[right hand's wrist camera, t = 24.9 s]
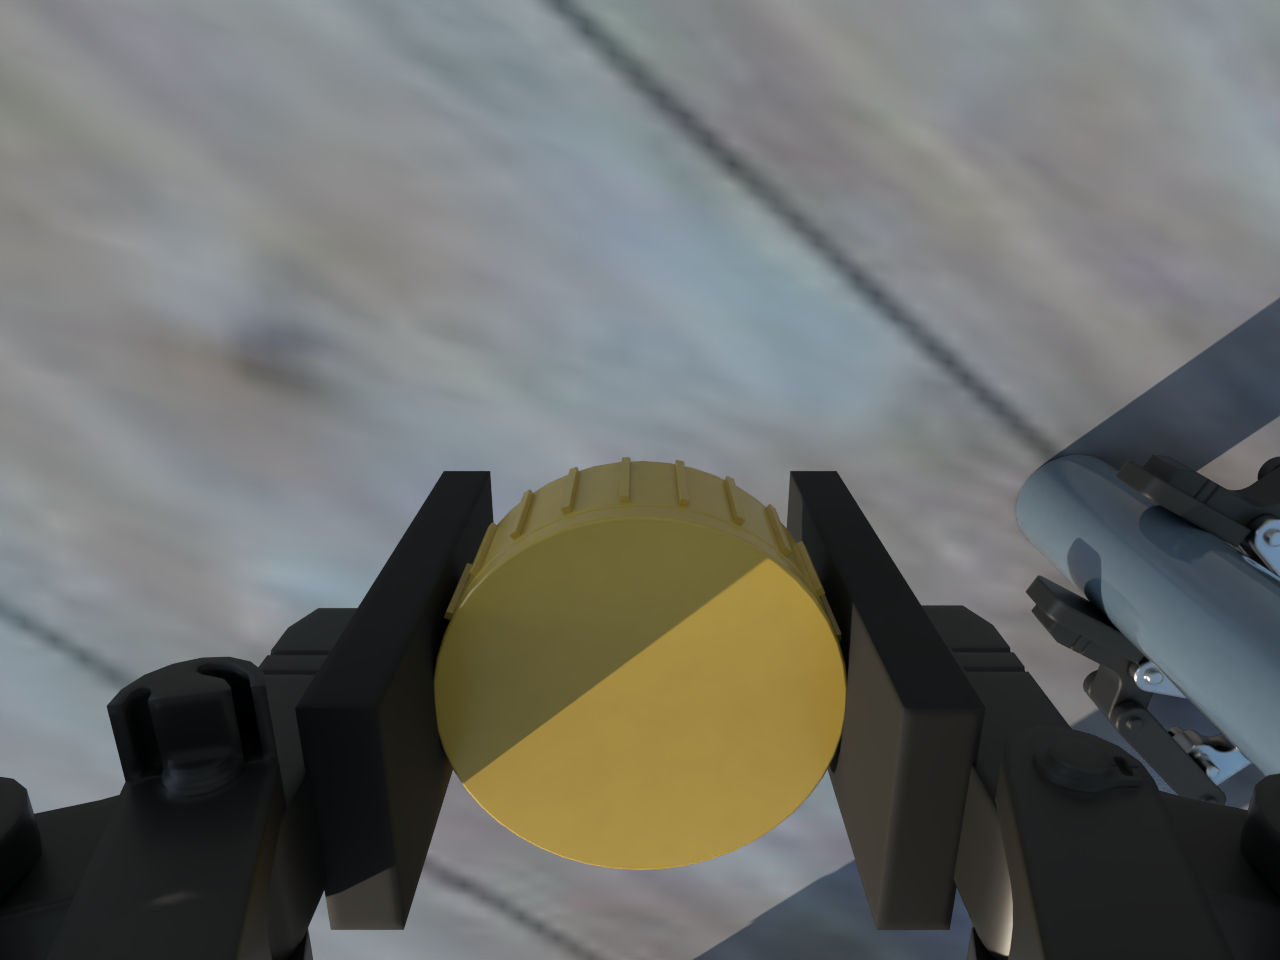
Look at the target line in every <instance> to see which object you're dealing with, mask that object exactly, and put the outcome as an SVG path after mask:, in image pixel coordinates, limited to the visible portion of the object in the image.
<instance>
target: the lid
mask: <svg viewBox="0 0 1280 960" xmlns="http://www.w3.org/2000/svg"><path fill="white" fill-rule="evenodd" d="M444 618H446V619H448V620H450V621H449V623H448V626H447V628H446V630H445V633H444V636H443V639H442V642H441V645H440V648H439V651H438V654H437V658H436V664H435V671H434V679H433V683H434V695H435V707H436V716H437V726H438V733H439V736H440V739H441V742H442V746H443V749H444V751H445V753H446V755H447V757H448V759H449V762H450V764H451V766H452V768H453V770H454V771H455V773H456V774H457V776H458V778H459V779H460V781H461V782H462V784H463V785H464V787H465V788H466V790H467V791H468V792H469V793H470V794H471V795H472V796H473V798H474V799H475V800H476V801H477V802H478V803H479V804H480V806H481V807H482V808H483V809H484V810H486V811H487V812H488V813H489V814H490V815H491V816H492V817H493V818H495V819H496V820H497V821H498V822H499V823H500V824H502V825H503V826H505V827H506V828H508V829H509V830H510V831H512V832H513V833H515V834H516V835H518V836H519V837H521V838H523V839H525V840H526V841H528V842H530V843H532V844H534V845H536V846H538V847H540V848H542V849H544V850H547V851H549V852H552V853H554V854H557V855H559V856H562V857H564V858H568V859H571V860H575V861H579V862H582V863H586V864H591V865H596V866H602V867H608V868H617V869H632V870H645V869H665V868H672V867H679V866H686V865H690V864H694V863H698V862H702V861H706V860H710V859H713V858H716V857H719V856H721V855H724V854H727V853H730V852H732V851H735V850H737V849H739V848H741V847H743V846H745V845H747V844H749V843H751V842H753V841H755V840H757V839H758V838H760V837H761V836H763V835H764V834H766V833H767V832H769V831H770V830H772V829H774V828H775V827H776V826H778V825H779V824H780V823H781V822H782V821H784V820H785V819H786V818H787V817H789V816H790V815H791V814H792V813H793V812H794V811H795V810H796V809H797V808H798V807H799V806H800V805H801V804H802V803H803V802H804V801H805V800H806V799H807V798H808V797H809V795H810V794H811V793H812V791H813V790H814V789H815V787H816V786H817V785H818V783H819V782H820V780H821V779H822V778H823V776H824V774H825V772H826V771H827V769H828V767H829V765H830V763H831V761H832V759H833V757H834V755H835V753H836V750H837V747H838V744H839V741H840V739H841V736H842V732H843V722H844V713H845V702H846V691H847V673H846V664H845V660H844V657H843V653H842V649H841V646H840V641H841V631H840V629H839V627H838V624H837V622H836V620H835V617H834V615H833V613H832V610H831V608H830V606H829V603H828V601H827V598H826V596H825V591H824V589H823V586H822V584H821V582H820V579H819V577H818V575H817V572H816V570H815V568H814V565H813V563H812V561H811V558H810V556H809V554H808V551H807V549H806V547H805V545H804V543H803V541H800V542H799V543H796V542H795V540H794V538H793V537H792V535H791V534H790V532H789V531H788V530H787V529H786V528H785V526H784V525H783V524H782V523H781V522H780V519H779V517H778V514H777V512H776V509H775V508H774V507H773V506H772V505H771V504H769V505H768V506H767V507H765V506H764V505H763V504H762V503H761V502H759V501H758V500H757V499H755V498H754V497H752V496H751V495H749V494H748V493H747V492H745V491H744V490H742V489H741V488H739V487H737V486H736V485H735V482H734V479H732V478H730V477H728V476H727V477H726V478H725V480H723V479H721V478H719V477H717V476H714V475H712V474H709V473H706V472H703V471H700V470H697V469H694V468H690V467H685V466H684V462H683V461H678V460H676V462H675V464H671V463H661V462H648V461H636V462H631V461H630V457H627V458H622V462H618V463H612V464H606V465H600V466H594V467H591V468H588V469H584V470H581V471H579V470H578V468H577V467H575V468H572V469H570V471H569V475H567V476H564V477H562V478H560V479H558V480H555V481H553V482H551V483H549V484H547V485H545V486H544V487H542V488H541V489H539V490H537V491H536V492H534V493H532V491H531V490H528V491H527V492H525V493H524V494H523V497H522V500H521V502H520V503H519V504H518V505H517V506H516V507H514V508H513V509H512V510H511V511H510V512H509V513H508V514H507V515H506V516H505V517H504V518H503V519H502V520H501V521H500V522H499V524H498V525H496V524H494V523H493V522H492V523H491V524H490V526H489V527H488V529H487V531H486V533H485V536H484V538H483V541H482V543H481V545H480V548H479V550H478V553H477V555H476V557H475V560H474V562H473V565H472V564H470V563H467V564H466V566H465V569H464V571H463V573H462V576H461V578H460V580H459V583H458V585H457V587H456V590H455V592H454V594H453V596H452V599H451V601H450V603H449V606H448V608H447V610H446V613H445V615H444Z"/></svg>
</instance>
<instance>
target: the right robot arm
mask: <svg viewBox="0 0 1280 960" xmlns="http://www.w3.org/2000/svg"><path fill="white" fill-rule="evenodd" d="M492 522H493V509H492V493H491V478H490V471H444V472H443V474H442V475H441V477H440V478H439V480H438V482H437V483H436V485H435V486H434V488H433V490H432V491H431V493H430V494H429V496H428V497H427V499H426V501H425V502H424V504H423V505H422V507H421V509H420V510H419V512H418V513H417V515H416V517H415V518H414V520H413V521H412V523H411V524H410V526H409V528H408V529H407V531H406V532H405V534H404V536H403V537H402V539H401V540H400V542H399V544H398V545H397V547H396V548H395V550H394V551H393V553H392V555H391V556H390V558H389V559H388V561H387V563H386V564H385V566H384V567H383V569H382V571H381V572H380V574H379V575H378V577H377V578H376V580H375V582H374V583H373V585H372V586H371V588H370V590H369V591H368V593H367V594H366V596H365V598H364V599H363V601H362V602H361V604H360V605H359V607H358V608H318V609H316V610H315V611H313V612H312V613H310V614H309V615H307V616H306V617H304V618H303V619H301V620H300V621H298V622H296V623H295V624H293V625H292V626H290V627H289V628H288V629H287V630H286V631H285V633H284V634H283V635H282V637H281V638H280V639H279V641H278V642H277V643H276V645H275V646H274V647H273V649H272V650H271V655H267V657H266V658H265V659H264V661H263V662H262V663H261V665H260V666H259V667H257V666H256V665H254V664H253V663H252V662H250V661H246V660H241V659H237V658H232V657H207V658H198V659H194V660H189V661H184V662H179V663H175V664H171V665H169V666H166V667H164V668H161V669H158V670H156V671H153V672H151V673H148V674H146V675H144V676H142V677H141V678H139V679H137V680H136V681H134V682H133V683H131V684H129V685H128V686H126V687H125V688H123V689H121V690H120V692H119V693H118V694H117V695H116V696H115V697H114V698H113V699H112V701H111V702H110V703H109V704H108V705H107V709H108V713H109V717H110V721H111V725H112V729H113V733H114V737H115V741H116V745H117V749H118V753H119V757H120V761H121V765H122V769H123V773H124V777H125V781H126V782H125V784H124V786H123V789H122V791H121V793H120V795H117V796H114V797H110V798H106V799H103V800H99V801H94V802H89V803H84V804H80V805H75V806H70V807H65V808H60V809H55V810H51V811H46V812H41V813H36V814H34V813H33V809H32V806H31V803H30V799H29V796H28V793H27V789H26V788H24V787H23V786H22V785H21V784H19V783H18V782H17V781H15V780H14V779H11V778H4V777H0V960H313V956H312V949H311V943H310V937H309V931H308V926H309V924H310V922H311V919H312V917H313V915H314V912H315V910H316V908H317V905H318V903H319V901H320V899H321V896H322V894H323V892H324V890H325V896H326V902H327V908H328V914H329V920H330V927H331V930H404V927H405V924H406V920H407V917H408V914H409V911H410V907H411V904H412V901H413V898H414V894H415V891H416V888H417V885H418V881H419V878H420V875H421V872H422V868H423V865H424V862H425V859H426V855H427V852H428V849H429V846H430V842H431V839H432V836H433V832H434V829H435V826H436V823H437V819H438V816H439V813H440V810H441V806H442V803H443V800H444V797H445V793H446V790H447V787H448V784H449V780H450V777H451V774H452V771H453V768H452V766H451V764H450V762H449V759H448V757H447V755H446V753H445V751H444V749H443V746H442V742H441V739H440V736H439V733H438V726H437V716H436V707H435V695H434V683H433V679H434V671H435V664H436V658H437V654H438V651H439V648H440V645H441V642H442V639H443V636H444V633H445V630H446V628H447V626H448V623H449V621H450V620H448V619H446V618H444V615H445V613H446V610H447V608H448V606H449V603H450V601H451V599H452V596H453V594H454V592H455V590H456V587H457V585H458V583H459V580H460V578H461V576H462V573H463V571H464V569H465V566H466V564H467V563H470V564H472V565H473V562H474V560H475V557H476V555H477V553H478V550H479V548H480V545H481V543H482V541H483V538H484V536H485V533H486V531H487V529H488V527H489V526H490V524H491V523H492ZM787 530H788V531H789V532H790V534H791V535H792V537H793V538H794V540H795V542H796V543H799V542H800V541H803V543H804V545H805V547H806V549H807V551H808V554H809V556H810V558H811V561H812V563H813V565H814V568H815V570H816V572H817V575H818V577H819V579H820V582H821V584H822V586H823V589H824V591H825V596H826V598H827V601H828V603H829V606H830V608H831V610H832V613H833V615H834V617H835V620H836V622H837V624H838V627H839V629H840V631H841V641H840V646H841V649H842V653H843V657H844V660H845V664H846V673H847V691H846V702H845V713H844V722H843V732H842V736H841V739H840V741H839V744H838V747H837V750H836V753H835V755H834V757H833V759H832V761H831V763H830V765H829V767H828V772H829V775H830V779H831V782H832V785H833V788H834V792H835V795H836V798H837V801H838V805H839V808H840V811H841V814H842V818H843V821H844V824H845V828H846V831H847V834H848V837H849V841H850V844H851V847H852V850H853V854H854V857H855V860H856V863H857V867H858V870H859V873H860V876H861V880H862V883H863V886H864V889H865V893H866V896H867V899H868V902H869V906H870V909H871V912H872V915H873V919H874V922H875V925H876V929H877V930H950V924H951V918H952V911H953V905H954V899H955V893H956V887H957V888H958V891H959V893H960V895H961V898H962V900H963V902H964V904H965V907H966V909H967V911H968V914H969V916H970V918H971V920H972V923H973V926H972V931H971V937H970V943H969V949H968V954H967V960H1280V773H1279V774H1272V775H1268V776H1267V777H1265V778H1264V779H1263V780H1262V781H1260V782H1259V783H1258V784H1256V785H1255V788H1254V792H1253V795H1252V798H1251V802H1250V805H1249V808H1248V810H1243V809H1239V808H1234V807H1229V806H1224V805H1219V804H1214V803H1210V802H1205V801H1200V800H1195V799H1190V798H1185V797H1181V796H1177V795H1173V794H1170V793H1166V792H1162V791H1159V789H1158V787H1157V785H1156V783H1155V781H1154V779H1153V778H1152V777H1151V775H1150V774H1149V773H1148V771H1147V770H1146V769H1145V767H1144V766H1143V765H1142V763H1141V762H1140V761H1138V760H1137V759H1135V758H1134V757H1133V756H1131V755H1130V754H1129V753H1127V752H1126V751H1124V750H1123V749H1122V748H1120V747H1119V746H1117V745H1115V744H1112V743H1110V742H1108V741H1106V740H1103V739H1101V738H1099V737H1097V736H1095V735H1092V734H1089V733H1085V732H1080V731H1076V730H1072V729H1071V727H1070V726H1069V725H1068V724H1067V722H1066V721H1065V720H1064V718H1063V717H1062V716H1061V714H1060V713H1059V712H1058V710H1057V709H1056V708H1055V706H1054V705H1053V704H1052V702H1051V701H1050V700H1049V698H1048V697H1047V696H1046V694H1045V693H1044V692H1043V691H1042V689H1041V688H1040V687H1039V685H1038V684H1037V683H1036V681H1035V680H1034V679H1033V677H1032V676H1031V675H1030V673H1029V672H1025V669H1024V668H1025V667H1024V665H1023V664H1022V663H1021V661H1020V660H1019V659H1018V658H1017V656H1016V655H1015V654H1014V652H1010V647H1009V646H1008V644H1007V643H1006V642H1005V640H1004V639H1003V638H1002V636H1001V635H1000V634H999V632H998V631H997V630H996V628H995V627H994V626H993V625H992V624H990V623H989V622H987V621H986V620H984V619H983V618H981V617H980V616H978V615H977V614H975V613H973V612H972V611H970V610H969V609H967V608H966V607H964V606H921V605H920V603H919V601H918V600H917V598H916V597H915V595H914V593H913V592H912V590H911V589H910V587H909V585H908V584H907V582H906V581H905V579H904V578H903V576H902V574H901V573H900V571H899V570H898V568H897V566H896V565H895V563H894V562H893V560H892V558H891V557H890V555H889V554H888V552H887V551H886V549H885V547H884V546H883V544H882V543H881V541H880V539H879V538H878V536H877V535H876V533H875V532H874V530H873V528H872V527H871V525H870V524H869V522H868V520H867V519H866V517H865V516H864V514H863V512H862V511H861V509H860V508H859V506H858V505H857V503H856V501H855V500H854V498H853V497H852V495H851V493H850V492H849V490H848V489H847V487H846V485H845V484H844V482H843V481H842V479H841V478H840V476H839V474H838V473H837V471H790V486H789V502H788V517H787Z"/></svg>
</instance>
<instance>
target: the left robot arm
mask: <svg viewBox="0 0 1280 960" xmlns="http://www.w3.org/2000/svg"><path fill="white" fill-rule="evenodd" d="M1115 476H1116V477H1117V478H1119V479H1120V480H1122V481H1123V482H1124V483H1126V484H1127V485H1129V486H1130V487H1132V488H1133V489H1135V490H1136V491H1138V492H1139V493H1141V494H1142V495H1144V496H1146V497H1147V498H1149V499H1151V500H1152V501H1154V502H1156V503H1158V504H1159V505H1161V506H1163V507H1165V508H1166V509H1168V510H1170V511H1172V512H1174V513H1175V514H1177V515H1179V516H1181V517H1183V518H1184V519H1186V520H1188V521H1190V522H1191V523H1193V524H1195V525H1197V526H1199V527H1200V528H1202V529H1204V530H1206V531H1208V532H1209V533H1211V534H1214V535H1216V536H1217V537H1219V538H1220V539H1222V540H1224V541H1225V542H1227V543H1229V544H1231V545H1232V546H1233V547H1234V548H1235V549H1237V550H1238V551H1240V552H1241V553H1243V554H1244V555H1246V556H1247V557H1249V558H1250V559H1252V560H1253V561H1255V562H1256V563H1258V564H1260V565H1261V566H1263V567H1264V568H1266V569H1267V570H1269V571H1270V572H1272V573H1273V574H1275V575H1276V576H1278V577H1279V578H1280V457H1275V458H1272V459H1270V460H1268V461H1267V462H1266V463H1264V464H1263V466H1262V467H1261V468H1260V470H1259V473H1258V481H1257V482H1255V483H1254V484H1252V485H1251V486H1249V487H1247V488H1245V489H1241V490H1228V489H1225V488H1223V487H1221V486H1220V485H1218V484H1216V483H1214V482H1213V481H1211V480H1209V479H1207V478H1206V477H1204V476H1202V475H1200V474H1199V473H1197V472H1195V471H1193V470H1192V469H1190V468H1188V467H1186V466H1185V465H1183V464H1181V463H1179V462H1178V461H1176V460H1174V459H1172V458H1171V457H1168V456H1159V455H1153V456H1152V457H1151V459H1150V460H1149V461H1148V462H1147V464H1146V465H1145V466H1144V467H1142V466H1140V465H1139V464H1137V463H1135V462H1133V461H1131V460H1130V459H1128V460H1127V461H1126V462H1125V464H1124V465H1123V466H1122V467H1121V469H1120V470H1119V471H1118V473H1117V474H1116V475H1115ZM1026 593H1027V594H1028V595H1029V596H1030V597H1031V599H1032V600H1033V601H1034V602H1035V603H1036V606H1035V607H1034V608H1033V609H1032V612H1033V614H1034V615H1035V616H1036V618H1037V619H1038V620H1039V621H1040V623H1041V624H1042V625H1043V626H1044V627H1045V628H1046V630H1047V631H1048V632H1049V633H1050V634H1051V635H1052V637H1053V638H1054V639H1055V640H1056V641H1057V642H1058V643H1060V644H1062V645H1064V646H1066V647H1068V648H1071V649H1072V650H1074V651H1076V652H1078V653H1080V654H1082V655H1083V656H1085V657H1087V658H1089V659H1091V660H1093V661H1095V662H1097V663H1099V664H1100V666H1099V669H1098V670H1096V671H1094V672H1092V673H1090V674H1089V675H1088V676H1087V677H1086V679H1085V680H1084V684H1083V688H1084V691H1085V692H1086V693H1087V695H1088V696H1089V697H1090V698H1091V699H1092V701H1093V702H1094V703H1095V704H1096V706H1097V707H1098V708H1099V709H1100V710H1101V712H1102V713H1103V714H1104V715H1105V717H1106V718H1107V719H1108V720H1109V721H1110V723H1111V724H1112V725H1113V726H1114V727H1115V728H1116V730H1117V731H1118V732H1119V733H1120V734H1121V735H1122V736H1123V737H1124V739H1125V740H1126V741H1127V742H1128V743H1129V744H1130V745H1131V746H1132V747H1133V748H1134V749H1135V750H1136V751H1137V752H1138V753H1139V754H1140V755H1141V756H1142V757H1143V758H1144V760H1145V761H1146V762H1147V763H1148V764H1149V765H1150V766H1151V767H1152V768H1153V769H1154V770H1155V771H1156V772H1157V773H1158V774H1159V775H1160V776H1161V777H1162V778H1163V780H1164V781H1165V782H1166V783H1167V784H1168V785H1169V786H1170V787H1171V788H1172V789H1173V790H1174V791H1175V792H1176V793H1177V794H1178V795H1179V796H1181V797H1185V798H1190V799H1195V800H1200V801H1205V802H1210V803H1214V804H1219V805H1224V804H1225V802H1226V796H1225V794H1224V793H1223V792H1222V791H1221V790H1220V788H1219V787H1218V786H1217V785H1219V784H1220V783H1222V782H1223V781H1225V780H1226V779H1228V778H1229V777H1231V776H1232V775H1234V774H1236V773H1237V772H1239V771H1240V770H1242V769H1243V768H1245V767H1246V766H1248V765H1249V764H1251V763H1252V762H1251V761H1250V760H1249V759H1248V758H1247V757H1246V756H1245V755H1244V754H1243V753H1242V752H1241V751H1240V750H1239V749H1238V748H1237V747H1236V746H1235V745H1234V744H1233V743H1232V742H1231V741H1229V740H1228V739H1227V738H1226V737H1225V736H1224V735H1223V734H1222V733H1221V734H1219V735H1217V736H1213V737H1206V736H1203V735H1201V734H1199V733H1198V732H1196V731H1194V730H1184V731H1183V730H1182V729H1181V728H1180V727H1179V726H1173V727H1171V728H1170V729H1169V730H1168V732H1167V731H1166V730H1165V729H1164V727H1163V726H1162V725H1161V724H1160V723H1159V722H1158V721H1157V720H1156V719H1155V718H1154V717H1153V716H1152V715H1151V713H1150V712H1149V711H1148V710H1147V706H1148V704H1149V701H1150V699H1151V696H1152V694H1153V692H1154V693H1159V694H1165V695H1170V696H1176V697H1181V698H1186V697H1185V696H1184V695H1183V694H1182V693H1181V692H1180V691H1179V690H1178V689H1177V688H1176V687H1175V686H1174V685H1173V684H1172V683H1171V682H1170V681H1169V680H1168V679H1167V678H1166V677H1165V676H1164V675H1163V674H1162V673H1161V672H1160V671H1159V670H1158V669H1157V668H1156V667H1155V666H1154V665H1153V664H1152V663H1151V662H1150V661H1149V660H1148V659H1147V658H1146V657H1145V656H1144V655H1143V654H1142V653H1141V652H1140V651H1139V650H1138V649H1137V648H1136V647H1135V646H1134V645H1133V644H1132V643H1131V642H1130V641H1129V640H1128V639H1127V638H1126V637H1125V636H1124V635H1123V634H1122V633H1121V632H1120V631H1119V630H1118V629H1117V628H1116V627H1115V626H1114V625H1113V624H1112V623H1111V622H1110V621H1109V620H1108V619H1107V618H1106V617H1105V616H1104V615H1103V614H1102V613H1101V612H1100V611H1099V610H1098V609H1097V608H1096V607H1095V606H1094V605H1093V604H1092V603H1091V602H1090V601H1088V600H1086V599H1084V598H1082V597H1080V596H1078V595H1076V594H1075V593H1073V592H1071V591H1069V590H1067V589H1065V588H1063V587H1061V586H1059V585H1057V584H1055V583H1054V582H1052V581H1050V580H1048V579H1046V578H1044V577H1042V576H1037V578H1036V579H1035V580H1034V582H1033V583H1032V584H1031V585H1030V587H1029V588H1028V589H1027V591H1026Z"/></svg>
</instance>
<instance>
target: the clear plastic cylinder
mask: <svg viewBox="0 0 1280 960" xmlns="http://www.w3.org/2000/svg"><path fill="white" fill-rule="evenodd" d="M1117 473H1118V470H1116V469H1115V468H1113V467H1112V466H1110V465H1109V464H1107V463H1105V462H1104V461H1102V460H1100V459H1098V458H1096V457H1092V456H1088V455H1068V456H1064V457H1060V458H1057V459H1054V460H1052V461H1050V462H1048V463H1046V464H1045V465H1043V466H1042V467H1040V468H1039V469H1038V470H1036V471H1035V472H1034V473H1033V474H1032V475H1031V476H1030V477H1029V479H1028V480H1027V481H1026V483H1025V484H1024V486H1023V487H1022V489H1021V491H1020V494H1019V497H1018V500H1017V505H1016V519H1017V523H1018V526H1019V528H1020V530H1021V532H1022V534H1023V535H1024V536H1025V537H1026V539H1027V540H1028V541H1029V542H1030V543H1031V544H1032V545H1033V546H1034V547H1035V548H1036V549H1037V550H1038V551H1039V552H1040V553H1041V554H1042V555H1043V556H1044V557H1045V558H1046V559H1047V560H1048V561H1049V562H1050V563H1051V564H1052V565H1053V566H1054V567H1055V568H1056V569H1057V570H1058V571H1059V572H1060V573H1061V574H1062V575H1063V576H1065V577H1066V578H1067V579H1068V580H1069V581H1070V582H1071V583H1072V584H1073V585H1074V586H1075V587H1076V588H1077V589H1078V590H1079V591H1080V592H1081V593H1082V594H1083V595H1084V596H1085V597H1086V598H1087V599H1088V600H1089V601H1090V602H1091V603H1092V604H1093V605H1094V606H1095V607H1096V608H1097V609H1098V610H1099V611H1100V612H1101V613H1102V614H1103V615H1104V616H1105V617H1106V618H1107V619H1108V620H1109V621H1110V622H1111V623H1112V624H1113V625H1114V626H1115V627H1116V628H1117V629H1118V630H1119V631H1120V632H1121V633H1122V634H1123V635H1124V636H1125V637H1126V638H1127V639H1128V640H1129V641H1130V642H1131V643H1132V644H1133V645H1134V646H1135V647H1136V648H1137V649H1138V650H1139V651H1140V652H1141V653H1142V654H1143V655H1144V656H1145V657H1146V658H1147V659H1148V660H1149V661H1150V662H1151V663H1152V664H1153V665H1154V666H1155V667H1156V668H1157V669H1158V670H1159V671H1160V672H1161V673H1162V674H1163V675H1164V676H1165V677H1166V678H1167V679H1168V680H1169V681H1170V682H1171V683H1172V684H1173V685H1174V686H1175V687H1176V688H1177V689H1178V690H1179V691H1180V692H1181V693H1182V694H1183V695H1184V696H1185V697H1186V698H1187V699H1188V700H1189V701H1190V702H1191V703H1192V704H1193V705H1194V706H1195V707H1196V708H1197V709H1198V710H1199V711H1200V712H1201V713H1202V714H1203V715H1204V716H1205V717H1206V718H1207V719H1208V720H1209V721H1210V722H1211V723H1212V724H1213V725H1214V726H1215V727H1216V728H1217V729H1218V730H1219V731H1220V732H1221V733H1222V734H1223V735H1224V736H1225V737H1226V738H1227V739H1228V740H1229V741H1231V742H1232V743H1233V744H1234V745H1235V746H1236V747H1237V748H1238V749H1239V750H1240V751H1241V752H1242V753H1243V754H1244V755H1245V756H1246V757H1247V758H1248V759H1249V760H1250V761H1251V762H1252V763H1253V764H1254V765H1255V766H1256V767H1257V768H1258V769H1259V770H1260V771H1261V772H1262V773H1263V774H1264V775H1265V776H1266V777H1267V776H1268V775H1272V774H1279V773H1280V578H1279V577H1278V576H1276V575H1275V574H1273V573H1272V572H1270V571H1269V570H1267V569H1266V568H1264V567H1263V566H1261V565H1260V564H1258V563H1256V562H1255V561H1253V560H1252V559H1250V558H1249V557H1247V556H1246V555H1244V554H1243V553H1241V552H1240V551H1238V550H1237V549H1235V548H1234V547H1232V546H1231V545H1229V544H1228V543H1226V542H1225V541H1223V540H1222V539H1220V538H1219V537H1217V536H1216V535H1214V534H1211V533H1209V532H1208V531H1206V530H1204V529H1202V528H1200V527H1199V526H1197V525H1195V524H1193V523H1191V522H1190V521H1188V520H1186V519H1184V518H1183V517H1181V516H1179V515H1177V514H1175V513H1174V512H1172V511H1170V510H1168V509H1166V508H1165V507H1163V506H1161V505H1159V504H1158V503H1156V502H1154V501H1152V500H1151V499H1149V498H1147V497H1146V496H1144V495H1142V494H1141V493H1139V492H1138V491H1136V490H1135V489H1133V488H1132V487H1130V486H1129V485H1127V484H1126V483H1124V482H1123V481H1122V480H1120V479H1119V478H1117V477H1116V476H1115V475H1116V474H1117Z"/></svg>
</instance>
